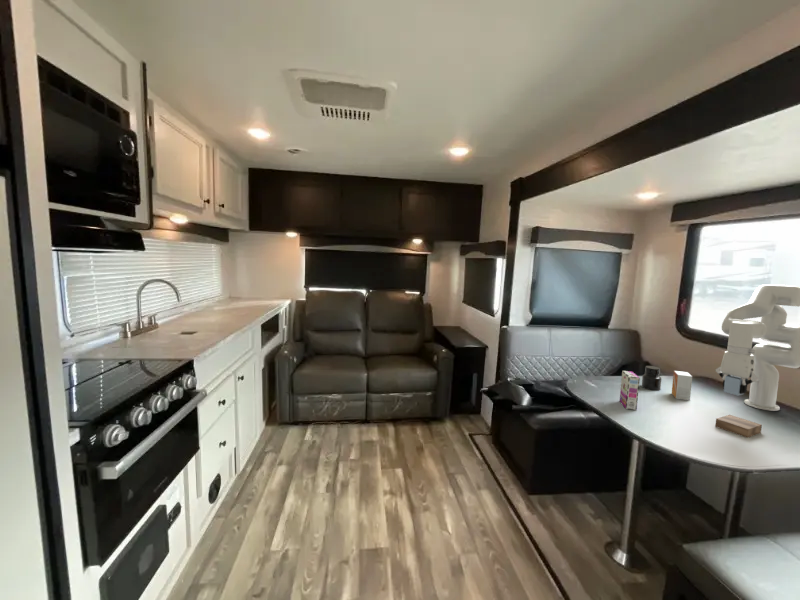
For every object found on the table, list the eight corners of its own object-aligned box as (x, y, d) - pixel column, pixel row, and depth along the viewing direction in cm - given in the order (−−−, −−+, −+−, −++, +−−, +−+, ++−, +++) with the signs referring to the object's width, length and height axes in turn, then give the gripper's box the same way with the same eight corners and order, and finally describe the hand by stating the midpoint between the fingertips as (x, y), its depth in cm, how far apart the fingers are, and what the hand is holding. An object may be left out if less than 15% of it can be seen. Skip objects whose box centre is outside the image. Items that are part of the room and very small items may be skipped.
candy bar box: (637, 410, 174) (640, 377, 172) (625, 409, 176) (628, 376, 174) (630, 402, 185) (632, 371, 183) (619, 401, 186) (621, 370, 185)
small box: (671, 393, 198) (673, 370, 196) (685, 395, 195) (687, 372, 194) (675, 398, 191) (677, 374, 189) (690, 400, 188) (692, 376, 187)
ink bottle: (665, 390, 203) (667, 369, 201) (652, 391, 201) (654, 370, 199) (649, 384, 212) (651, 364, 211) (637, 385, 210) (638, 365, 209)
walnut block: (728, 423, 163) (729, 414, 163) (760, 433, 153) (761, 424, 153) (715, 427, 158) (716, 418, 158) (747, 438, 148) (748, 429, 148)
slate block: (729, 390, 161) (731, 375, 160) (744, 394, 157) (745, 378, 156) (723, 391, 159) (725, 376, 158) (737, 395, 155) (739, 379, 154)
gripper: (769, 354, 150) (764, 396, 152) (719, 345, 165) (715, 384, 167) (760, 355, 147) (754, 399, 148) (710, 346, 162) (706, 385, 164)
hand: (734, 390), depth 158 cm, fingers closed on slate block, 5 cm apart
